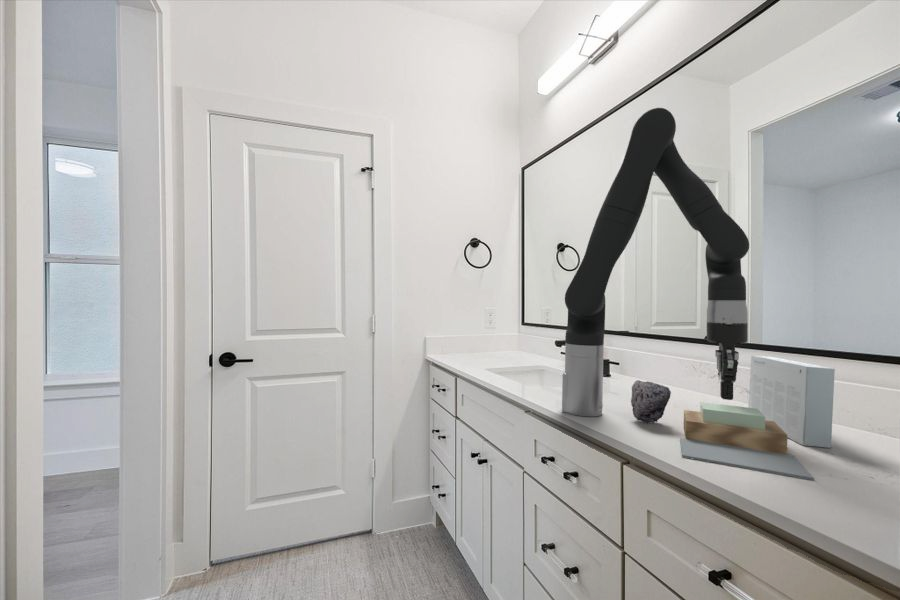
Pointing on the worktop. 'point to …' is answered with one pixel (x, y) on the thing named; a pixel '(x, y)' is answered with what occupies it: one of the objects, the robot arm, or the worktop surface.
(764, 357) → the skincare box
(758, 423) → the soap bar
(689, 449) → the mat
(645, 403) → the pumice stone
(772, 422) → the light wood block
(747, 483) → the worktop surface
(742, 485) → the worktop surface
